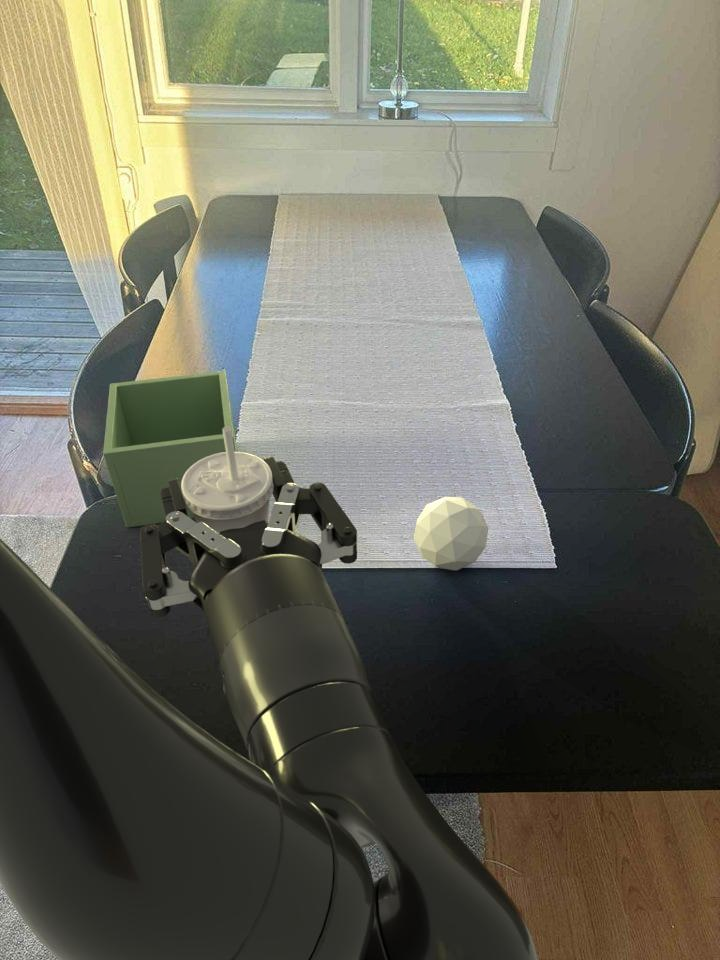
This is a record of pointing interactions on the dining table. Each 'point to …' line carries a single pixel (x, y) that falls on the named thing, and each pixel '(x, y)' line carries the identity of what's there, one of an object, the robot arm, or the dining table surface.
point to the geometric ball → (451, 533)
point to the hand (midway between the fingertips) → (222, 477)
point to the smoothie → (228, 488)
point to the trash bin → (162, 437)
